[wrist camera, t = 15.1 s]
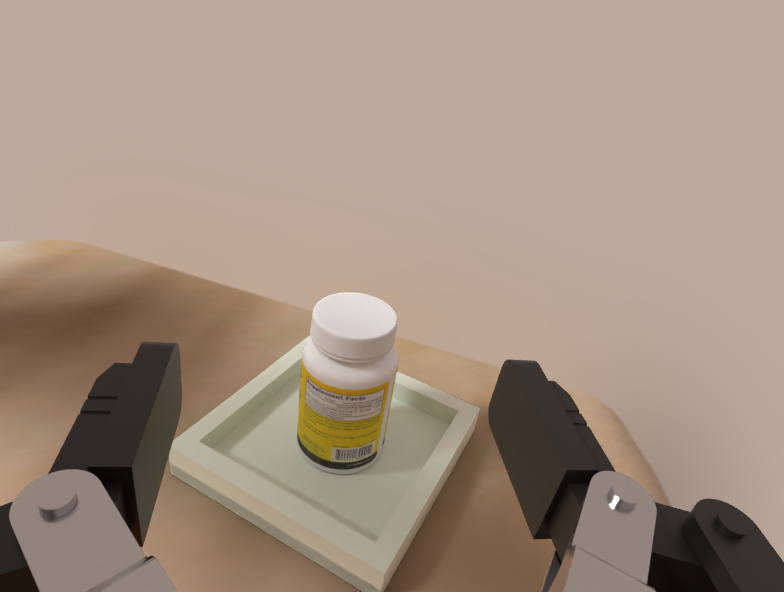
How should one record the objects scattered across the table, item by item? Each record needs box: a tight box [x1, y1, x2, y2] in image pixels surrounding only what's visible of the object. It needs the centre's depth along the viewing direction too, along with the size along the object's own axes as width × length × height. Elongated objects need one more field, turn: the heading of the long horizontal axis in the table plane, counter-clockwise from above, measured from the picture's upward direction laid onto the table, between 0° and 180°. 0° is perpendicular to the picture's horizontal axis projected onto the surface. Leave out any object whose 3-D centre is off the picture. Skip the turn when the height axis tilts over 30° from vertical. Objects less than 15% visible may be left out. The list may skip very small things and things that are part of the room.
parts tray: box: [169, 335, 481, 592], centre depth 29 cm, size 12×12×2 cm
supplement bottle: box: [297, 292, 398, 474], centre depth 27 cm, size 5×5×8 cm
